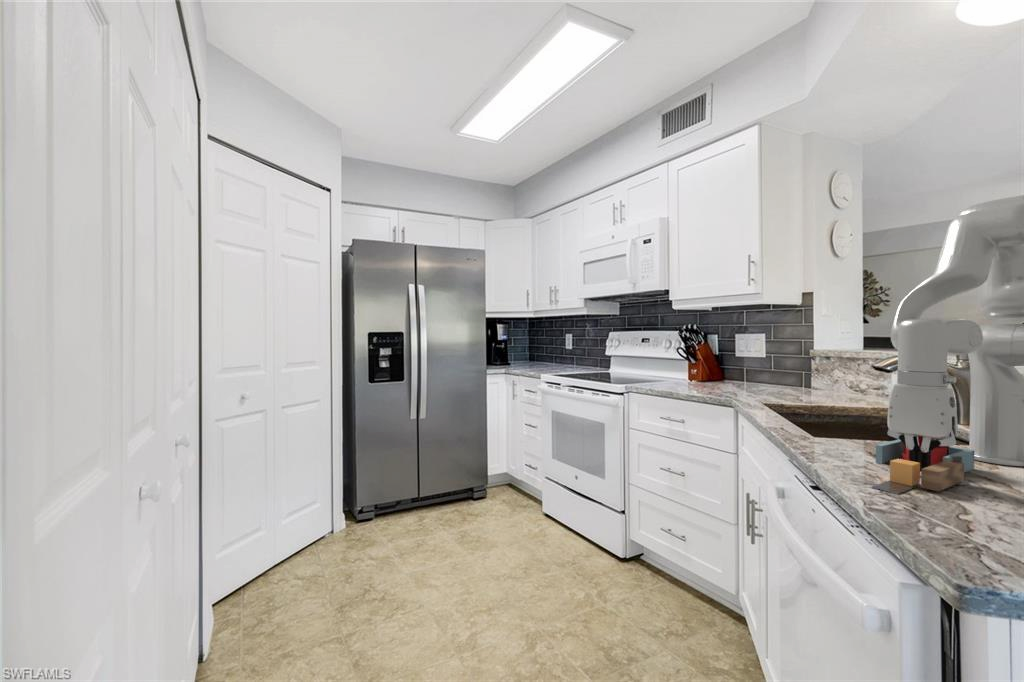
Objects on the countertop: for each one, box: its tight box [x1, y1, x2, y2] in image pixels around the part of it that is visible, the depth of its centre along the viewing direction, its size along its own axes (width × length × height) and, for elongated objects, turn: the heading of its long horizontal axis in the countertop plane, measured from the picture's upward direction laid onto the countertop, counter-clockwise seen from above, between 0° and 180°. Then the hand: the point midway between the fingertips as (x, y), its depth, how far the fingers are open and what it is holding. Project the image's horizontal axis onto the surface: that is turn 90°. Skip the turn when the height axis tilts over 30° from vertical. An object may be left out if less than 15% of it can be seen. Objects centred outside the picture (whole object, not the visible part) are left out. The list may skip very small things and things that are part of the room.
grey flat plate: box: [871, 479, 921, 495], centre depth 89 cm, size 10×4×1 cm, turn 119°
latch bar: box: [920, 455, 965, 492], centre depth 89 cm, size 13×2×5 cm, turn 119°
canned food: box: [901, 436, 951, 466], centre depth 103 cm, size 8×8×11 cm
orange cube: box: [889, 458, 921, 486], centre depth 91 cm, size 4×4×4 cm
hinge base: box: [954, 480, 970, 486], centre depth 92 cm, size 4×4×1 cm
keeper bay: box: [875, 439, 975, 473], centre depth 103 cm, size 13×13×4 cm
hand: (919, 469), depth 94 cm, fingers closed
